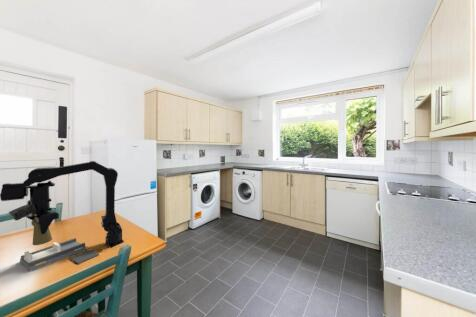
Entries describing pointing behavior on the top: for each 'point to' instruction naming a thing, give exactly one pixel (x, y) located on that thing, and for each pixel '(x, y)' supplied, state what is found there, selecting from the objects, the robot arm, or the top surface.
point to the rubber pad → (84, 256)
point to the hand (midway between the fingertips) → (41, 232)
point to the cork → (40, 235)
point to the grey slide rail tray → (66, 251)
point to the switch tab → (42, 253)
